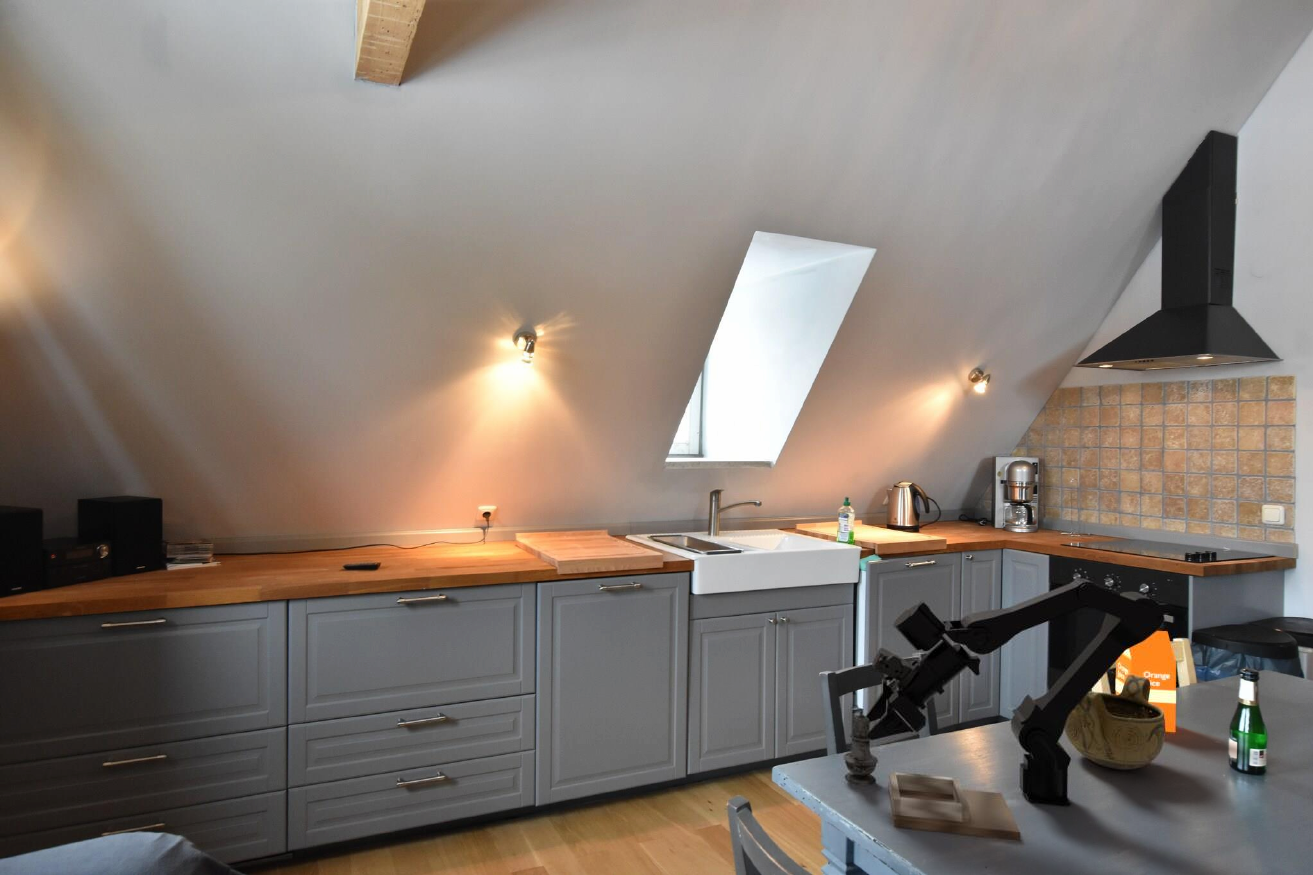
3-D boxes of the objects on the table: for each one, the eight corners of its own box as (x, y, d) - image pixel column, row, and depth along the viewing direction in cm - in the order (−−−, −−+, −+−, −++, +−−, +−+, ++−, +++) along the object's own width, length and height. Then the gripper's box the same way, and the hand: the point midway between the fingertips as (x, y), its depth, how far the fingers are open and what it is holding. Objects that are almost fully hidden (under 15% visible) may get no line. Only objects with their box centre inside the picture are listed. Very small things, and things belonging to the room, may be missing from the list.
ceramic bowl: (1131, 793, 139) (1132, 704, 140) (1035, 761, 153) (1036, 680, 153) (1188, 764, 153) (1189, 683, 153) (1095, 737, 166) (1095, 663, 166)
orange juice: (1115, 717, 179) (1115, 625, 179) (1158, 720, 178) (1159, 627, 178) (1130, 729, 171) (1131, 633, 171) (1176, 732, 170) (1177, 635, 170)
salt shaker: (878, 787, 140) (879, 716, 141) (843, 783, 142) (844, 714, 142) (876, 773, 146) (877, 706, 146) (842, 770, 147) (843, 703, 148)
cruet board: (1001, 800, 136) (1001, 778, 136) (1020, 840, 122) (1020, 815, 122) (888, 789, 140) (888, 768, 140) (894, 826, 126) (894, 803, 126)
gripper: (897, 623, 152) (835, 678, 154) (906, 648, 134) (835, 709, 136) (941, 669, 150) (877, 724, 152) (956, 700, 132) (883, 762, 134)
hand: (867, 728), depth 144 cm, fingers open, 9 cm apart
